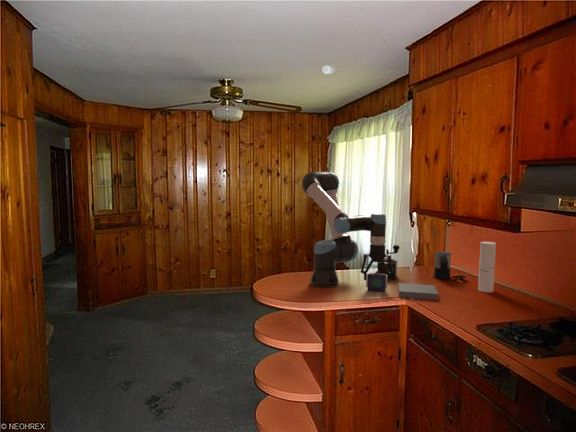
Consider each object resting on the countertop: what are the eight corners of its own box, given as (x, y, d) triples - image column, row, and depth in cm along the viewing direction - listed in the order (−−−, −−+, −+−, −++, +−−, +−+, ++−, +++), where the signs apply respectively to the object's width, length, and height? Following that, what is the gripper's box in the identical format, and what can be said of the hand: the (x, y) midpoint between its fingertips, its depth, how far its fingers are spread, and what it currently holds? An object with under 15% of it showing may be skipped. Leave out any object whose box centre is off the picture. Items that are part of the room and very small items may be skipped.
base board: (399, 297, 198) (399, 291, 197) (398, 288, 212) (398, 283, 212) (437, 300, 193) (438, 293, 193) (434, 291, 208) (434, 285, 208)
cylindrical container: (496, 292, 206) (499, 244, 204) (482, 292, 206) (485, 244, 203) (488, 288, 213) (491, 241, 211) (475, 288, 213) (477, 241, 210)
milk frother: (430, 275, 239) (431, 251, 237) (456, 275, 240) (457, 250, 239) (441, 282, 225) (443, 256, 223) (469, 281, 226) (470, 255, 224)
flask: (385, 290, 209) (385, 270, 208) (386, 292, 206) (386, 271, 205) (367, 290, 210) (367, 269, 208) (367, 291, 207) (368, 271, 206)
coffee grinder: (396, 280, 228) (397, 249, 226) (376, 278, 232) (377, 247, 230) (399, 274, 243) (400, 244, 241) (380, 272, 247) (381, 243, 245)
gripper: (355, 244, 204) (354, 287, 207) (400, 246, 199) (398, 290, 202) (356, 241, 212) (355, 283, 214) (399, 243, 206) (398, 286, 209)
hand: (376, 287), depth 208 cm, fingers closed on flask, 9 cm apart
